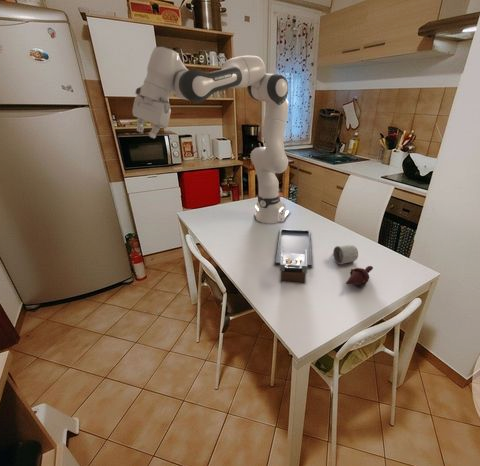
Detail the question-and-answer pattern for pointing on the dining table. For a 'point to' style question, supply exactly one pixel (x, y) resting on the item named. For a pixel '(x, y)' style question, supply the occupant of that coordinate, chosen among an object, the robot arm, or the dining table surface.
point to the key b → (298, 261)
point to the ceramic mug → (345, 254)
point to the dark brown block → (292, 277)
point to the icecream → (359, 276)
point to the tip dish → (293, 262)
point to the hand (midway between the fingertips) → (145, 134)
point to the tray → (294, 244)
